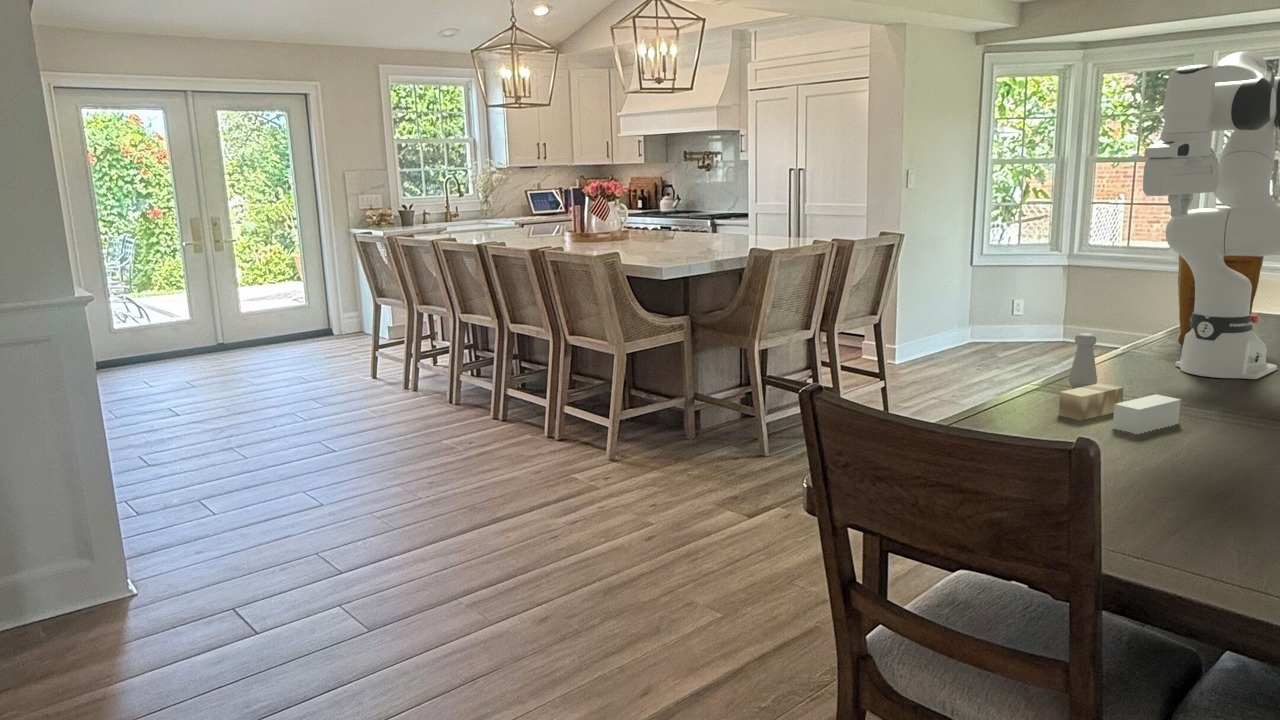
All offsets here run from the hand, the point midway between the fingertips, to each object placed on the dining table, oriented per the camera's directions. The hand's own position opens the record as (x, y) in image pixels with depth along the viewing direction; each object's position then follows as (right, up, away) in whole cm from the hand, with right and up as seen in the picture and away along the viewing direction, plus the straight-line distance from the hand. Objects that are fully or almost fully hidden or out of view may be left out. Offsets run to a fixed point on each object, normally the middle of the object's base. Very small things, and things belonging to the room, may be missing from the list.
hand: (1178, 216), depth 183 cm
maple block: (-12, -37, +3) cm, 40 cm away
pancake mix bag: (+45, -26, +59) cm, 79 cm away
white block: (-7, -39, -8) cm, 41 cm away
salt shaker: (-11, -37, +19) cm, 42 cm away
